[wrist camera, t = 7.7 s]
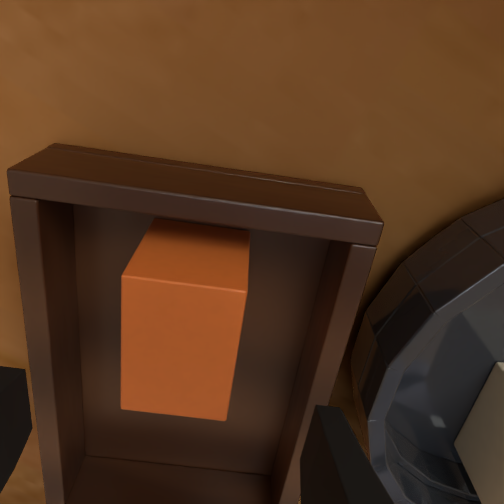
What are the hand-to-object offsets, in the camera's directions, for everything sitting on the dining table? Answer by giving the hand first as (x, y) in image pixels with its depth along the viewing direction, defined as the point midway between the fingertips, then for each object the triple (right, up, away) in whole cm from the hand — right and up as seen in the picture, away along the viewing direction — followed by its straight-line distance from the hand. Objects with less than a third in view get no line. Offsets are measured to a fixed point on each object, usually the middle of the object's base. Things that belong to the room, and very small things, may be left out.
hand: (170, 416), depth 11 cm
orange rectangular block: (0, +3, +5) cm, 6 cm away
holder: (0, 0, +7) cm, 7 cm away
